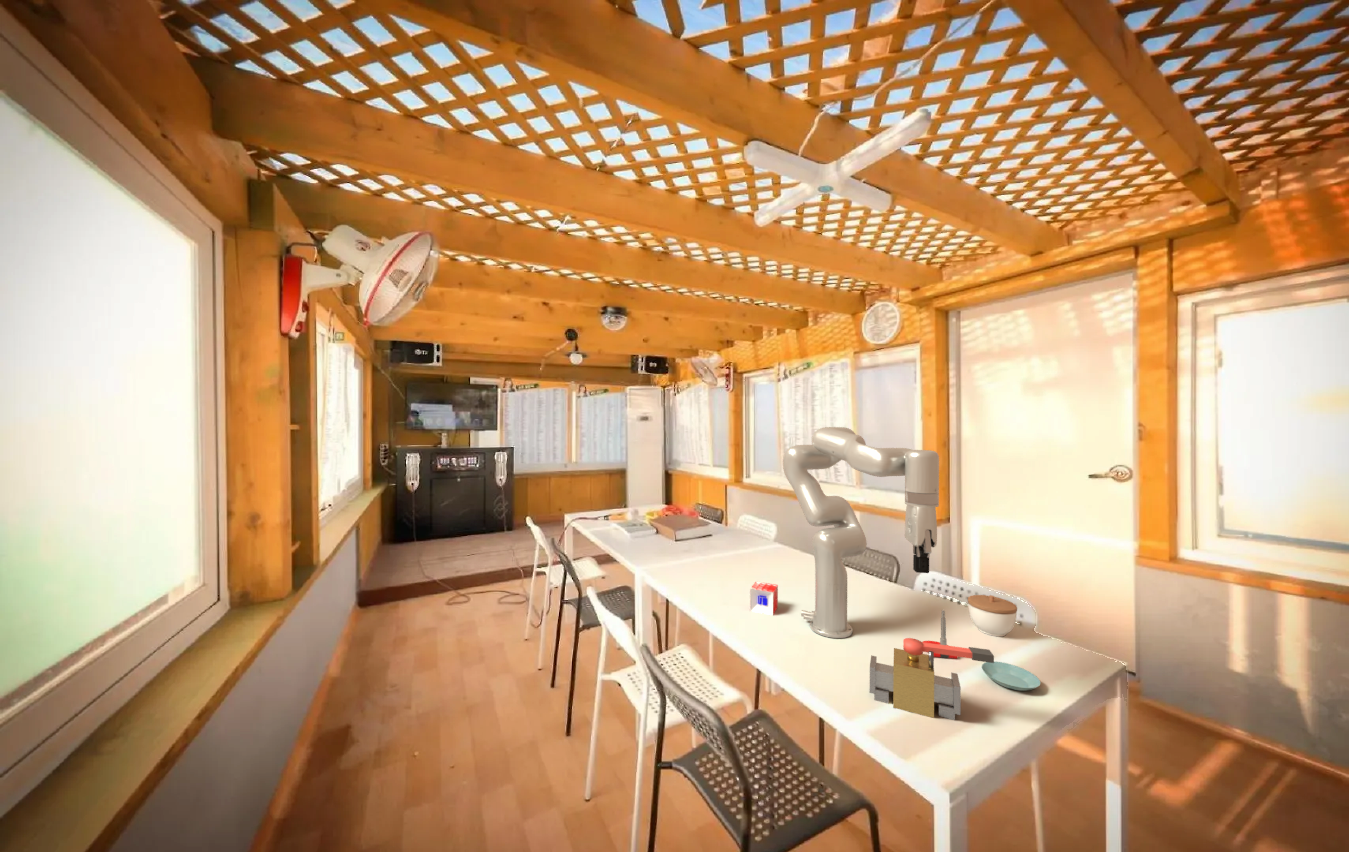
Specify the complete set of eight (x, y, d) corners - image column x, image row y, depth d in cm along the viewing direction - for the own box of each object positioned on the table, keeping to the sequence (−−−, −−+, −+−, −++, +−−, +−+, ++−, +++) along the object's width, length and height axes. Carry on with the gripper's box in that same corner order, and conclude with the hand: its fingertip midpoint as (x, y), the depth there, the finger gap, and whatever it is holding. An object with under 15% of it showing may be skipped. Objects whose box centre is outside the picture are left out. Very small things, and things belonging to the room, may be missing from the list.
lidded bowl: (986, 620, 149) (986, 587, 149) (1027, 637, 137) (1027, 601, 137) (958, 625, 145) (958, 591, 145) (997, 643, 133) (997, 605, 133)
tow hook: (915, 643, 134) (928, 657, 125) (915, 599, 134) (928, 610, 125) (946, 645, 133) (961, 660, 123) (946, 601, 133) (961, 612, 124)
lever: (905, 653, 103) (905, 644, 103) (902, 645, 107) (902, 636, 107) (994, 666, 97) (995, 657, 97) (988, 657, 101) (988, 648, 101)
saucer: (1047, 686, 112) (1047, 676, 112) (1030, 702, 105) (1030, 693, 105) (992, 665, 121) (992, 656, 121) (973, 679, 114) (973, 670, 114)
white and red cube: (777, 607, 159) (777, 584, 159) (773, 615, 152) (773, 592, 152) (755, 603, 162) (755, 581, 162) (749, 611, 155) (749, 588, 155)
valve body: (869, 701, 104) (869, 643, 104) (871, 683, 112) (871, 629, 112) (960, 724, 96) (961, 661, 96) (956, 704, 104) (957, 645, 104)
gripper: (897, 494, 122) (896, 562, 122) (914, 503, 107) (914, 580, 107) (927, 495, 121) (927, 564, 120) (949, 504, 106) (949, 582, 106)
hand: (921, 571), depth 114 cm, fingers closed
